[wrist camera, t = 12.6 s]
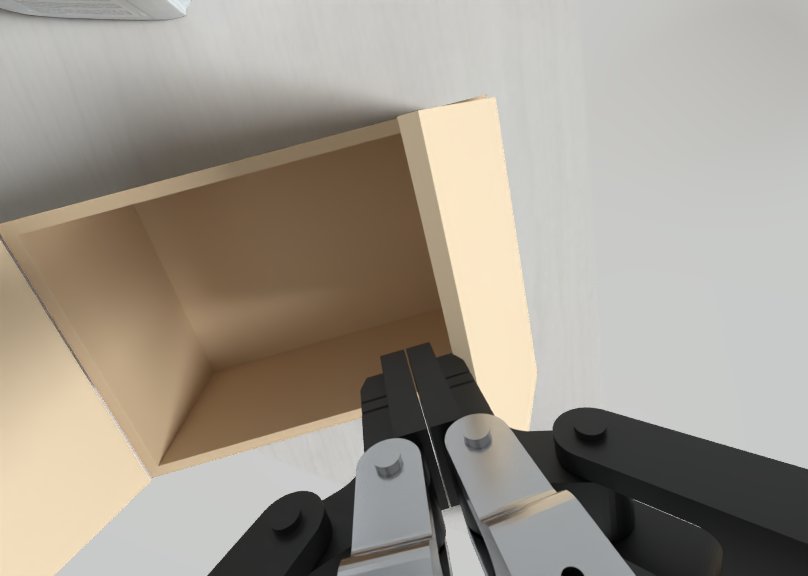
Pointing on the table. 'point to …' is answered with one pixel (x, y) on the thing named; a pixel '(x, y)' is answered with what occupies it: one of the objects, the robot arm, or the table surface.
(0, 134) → the table surface
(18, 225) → the carton
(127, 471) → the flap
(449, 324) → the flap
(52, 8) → the photo printer
